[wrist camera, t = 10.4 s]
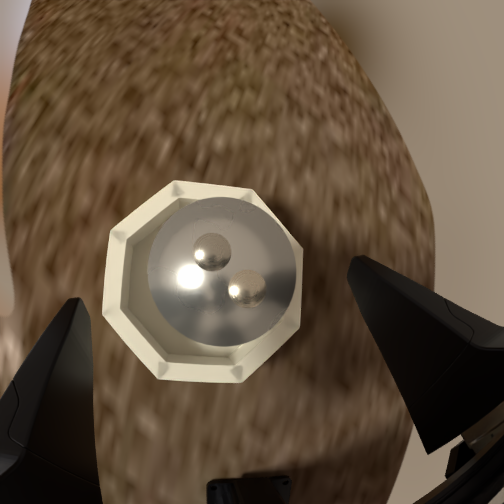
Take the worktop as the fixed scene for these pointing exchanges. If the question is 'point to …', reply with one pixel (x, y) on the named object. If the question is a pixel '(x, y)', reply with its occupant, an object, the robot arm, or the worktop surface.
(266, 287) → the canister
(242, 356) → the bowl
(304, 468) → the worktop surface
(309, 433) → the worktop surface
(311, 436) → the worktop surface
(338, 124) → the worktop surface
